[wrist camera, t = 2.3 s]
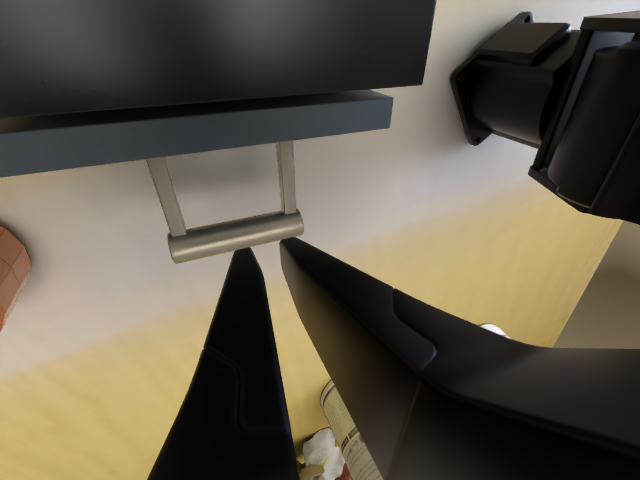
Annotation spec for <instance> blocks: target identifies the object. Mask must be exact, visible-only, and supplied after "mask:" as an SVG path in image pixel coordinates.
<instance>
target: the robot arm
mask: <svg viewBox="0 0 640 480" xmlns="http://www.w3.org/2000/svg"><path fill="white" fill-rule="evenodd" d="M459 76H460V78H459ZM458 78H459V80H458ZM451 83H452V87H453V90H454V94H455V97H456V100H457V104H458V107H459V111H460V114H461V117H462V121H463V124H464V127H465V131H466V134H467V138H468V141H469V143H470V144H472V145H474V146H477V145H479V144H480V143H481V142H482V141H483V140H485V139H486V138H487V137H488V136H489V135H490V134H495V135H498V136H501V137H504V138H507V139H510V140H513V141H516V142H519V143H522V144H525V145H528V146H531V147H534V148H537V149H538V151H537V154H536V157H535V160H534V163H533V165H532V166H530V169H529V172H528V175H529V176H531V177H532V178H533V179H535V180H536V181H538V182H539V183H540V184H542V185H543V186H544V187H546V188H547V189H549V190H550V191H551V192H553V193H554V194H555V195H557V196H558V197H559V198H561V199H562V200H564V201H565V202H566V203H568V204H569V205H571V206H572V207H574V208H575V209H577V210H578V211H580V212H582V213H589V214H592V215H596V216H600V217H605V218H612V219H621V220H625V221H629V222H633V223H636V224H639V225H640V11H632V12H623V13H614V14H605V15H597V16H588V17H584V18H583V21H582V24H581V27H580V30H571V25H570V24H567V23H533V15H532V13H531V12H522V13H520V14H519V15H518V16H517V17H516V18H515V19H514V20H512V21H511V22H510V23H508V24H506V25H505V26H504V27H503V28H502V29H501V30H500V31H498V32H497V33H496V34H495V35H494V36H493V37H492V38H491V39H489V40H488V41H487V42H486V43H485V44H484V45H483V46H481V47H480V48H479V50H478V51H477V52H476V53H475V54H474V55H473V56H471V57H470V58H469V59H468V60H467V61H466V62H465V63H463V64H462V65H461V66H460V67H459V68H458V69H457V70H455V72H454V73H453V74H452V77H451ZM279 245H280V256H281V265H282V270H283V273H284V276H285V279H286V281H287V284H288V287H289V290H290V292H291V295H292V298H293V301H294V303H295V306H296V309H297V312H298V314H299V317H300V319H301V321H302V323H303V325H304V327H305V329H306V331H307V333H308V335H309V337H310V339H311V341H312V343H313V344H314V346H315V348H316V350H317V352H318V354H319V356H320V358H321V360H322V362H323V364H324V366H325V368H326V370H327V372H328V373H329V375H330V377H331V379H332V381H333V383H334V385H335V387H336V389H337V391H338V393H339V395H340V397H341V399H342V401H343V402H344V404H345V406H346V408H347V410H348V412H349V414H350V416H351V418H352V420H353V422H354V424H355V426H356V428H357V430H358V432H359V433H360V435H361V437H362V439H363V441H364V443H365V445H366V447H367V449H368V451H369V453H370V455H371V457H372V459H373V461H374V462H375V464H376V466H377V468H378V470H379V472H380V474H381V476H382V478H383V480H640V349H596V348H594V349H593V348H548V347H540V346H534V345H529V344H525V343H522V342H518V341H515V340H513V339H510V338H507V337H505V336H502V335H500V334H497V333H495V332H492V331H490V330H488V329H485V328H483V327H480V326H478V325H475V324H473V323H471V322H468V321H466V320H463V319H461V318H458V317H456V316H454V315H451V314H449V313H447V312H444V311H442V310H440V309H437V308H435V307H433V306H430V305H428V304H426V303H424V302H422V301H420V300H418V299H416V298H414V297H412V296H410V295H407V294H406V293H404V292H402V291H400V290H398V289H396V288H394V289H393V287H392V286H390V285H388V284H386V283H384V282H382V281H380V280H378V279H376V278H374V277H372V276H370V275H368V274H366V273H364V272H362V271H360V270H358V269H357V268H355V267H353V266H351V265H349V264H347V263H345V262H343V261H341V260H339V259H337V258H335V257H333V256H331V255H329V254H327V253H325V252H323V251H321V250H319V249H318V248H316V247H314V246H312V245H310V244H308V243H306V242H304V241H302V240H300V239H298V238H296V237H290V238H286V239H282V240H280V244H279ZM147 480H300V475H299V470H298V465H297V460H296V454H295V449H294V444H293V438H292V433H291V427H290V421H289V416H288V410H287V404H286V399H285V393H284V388H283V382H282V376H281V371H280V365H279V360H278V354H277V348H276V343H275V337H274V332H273V326H272V320H271V315H270V309H269V304H268V298H267V292H266V287H265V281H264V276H263V273H262V270H261V268H260V266H259V264H258V262H257V260H256V258H255V255H254V253H253V251H252V249H251V248H250V247H246V248H242V249H238V250H235V251H234V254H233V257H232V260H231V263H230V266H229V269H228V272H227V275H226V279H225V282H224V285H223V288H222V291H221V294H220V297H219V300H218V303H217V306H216V309H215V313H214V316H213V319H212V322H211V325H210V328H209V331H208V334H207V337H206V340H205V344H204V349H203V350H202V352H201V355H200V358H199V362H198V365H197V367H196V370H195V373H194V376H193V378H192V381H191V384H190V387H189V389H188V392H187V394H186V396H185V399H184V401H183V403H182V405H181V408H180V410H179V412H178V415H177V417H176V419H175V421H174V423H173V425H172V428H171V430H170V432H169V434H168V436H167V438H166V440H165V442H164V445H163V447H162V449H161V451H160V453H159V455H158V457H157V459H156V462H155V464H154V466H153V468H152V470H151V472H150V474H149V477H148V479H147Z"/></svg>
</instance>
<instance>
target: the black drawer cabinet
mask: <svg viewBox="0 0 640 480" xmlns="http://www.w3.org/2000/svg"><path fill="white" fill-rule="evenodd" d="M436 1H437V0H0V119H3V118H15V117H28V116H41V115H53V114H66V113H78V112H91V111H104V110H116V109H129V108H141V107H154V106H166V105H179V104H192V103H204V102H217V101H229V100H242V99H255V98H267V97H280V96H292V95H305V94H318V93H330V92H343V91H355V90H368V89H380V88H393V87H406V86H418V85H422V84H423V78H424V72H425V66H426V60H427V54H428V48H429V43H430V37H431V31H432V25H433V19H434V13H435V7H436Z"/></svg>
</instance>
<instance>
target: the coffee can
mask: <svg viewBox="0 0 640 480" xmlns="http://www.w3.org/2000/svg"><path fill="white" fill-rule="evenodd" d="M320 403H321V406H322V408H323V410H324V412H325V414H326V417H327V419H328V421H329V424H330V426H331V429H332V431H333V434H334V436H335V438H336V441H337V443H338V446H339V448H340V451H341V453H342V455H343V458H344V460H345V462H346V464H347V467H348V469H349V472H350V474H351V477H352V479H353V480H383V478H382V476H381V474H380V472H379V470H378V468H377V466H376V464H375V462H374V461H373V459H372V457H371V455H370V453H369V451H368V449H367V447H366V445H365V443H364V441H363V439H362V437H361V435H360V433H359V432H358V430H357V428H356V426H355V424H354V422H353V420H352V418H351V416H350V414H349V412H348V410H347V408H346V406H345V404H344V402H343V401H342V399H341V397H340V395H339V393H338V391H337V389H336V387H335V385H334V383H333V381H332V380H331V381H330V382H329V384H328V385H327V386H326V388H325V389H324V391H323V393H322V395H321V400H320Z"/></svg>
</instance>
